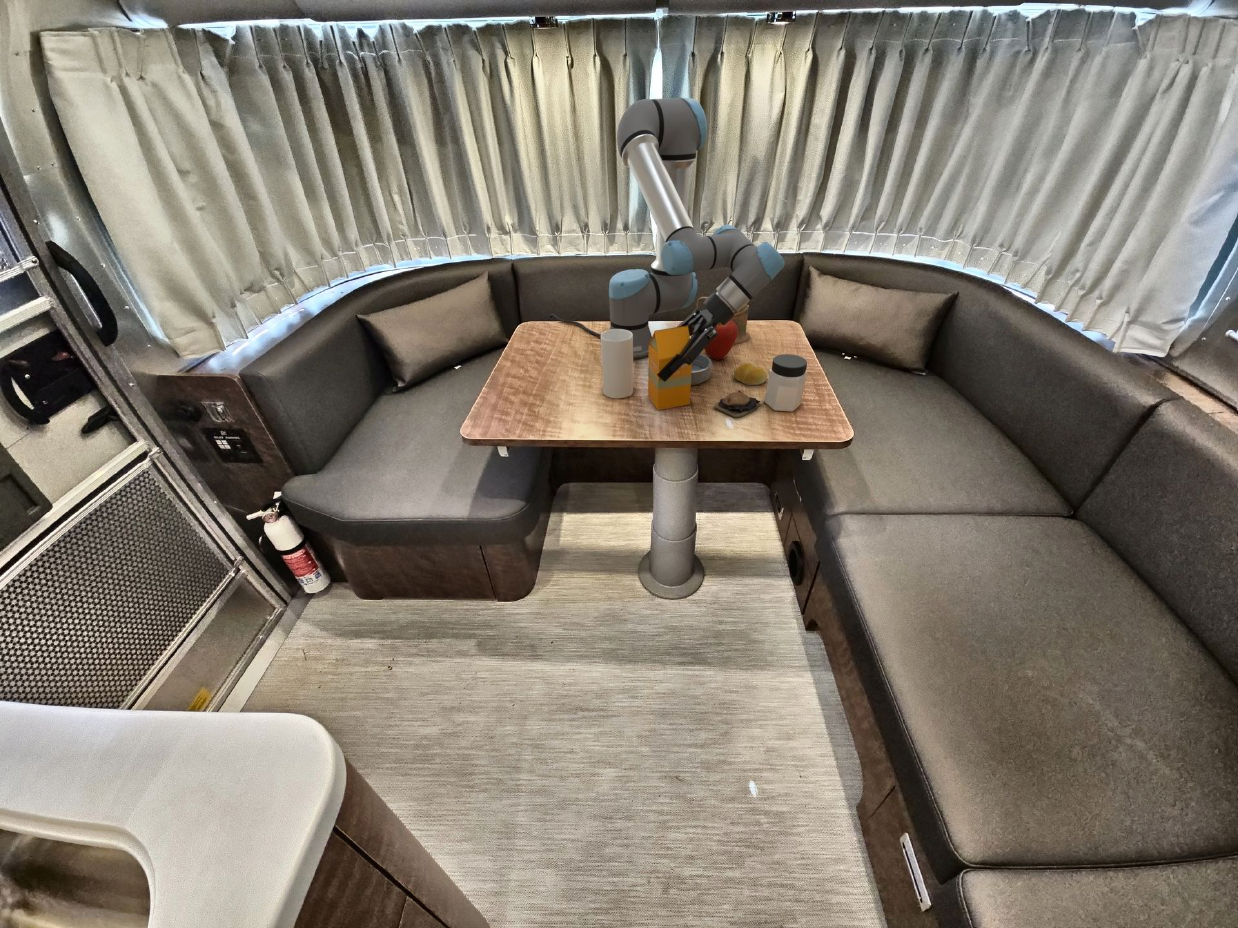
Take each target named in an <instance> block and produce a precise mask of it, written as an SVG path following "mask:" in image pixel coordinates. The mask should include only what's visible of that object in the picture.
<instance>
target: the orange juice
mask: <svg viewBox="0 0 1238 928" xmlns="http://www.w3.org/2000/svg"><path fill="white" fill-rule="evenodd" d="M690 338H691V336H689V330H688V326H682V327H677V326H676V327H669V328H663V329H657V330H654V331H653V334H652V338H651V341H650V344H649V356H647V357H648V361H647V363H648V364H647V397H648V398H649V400H650V402H652V404H653V406H654V407H655V408H656V410H657V411H660V410H665V409H673V408H678V407H683V406H687V405H690V402H691V401H690V398H691V386H692V385H691V372H692V363H691V364H690V365H688V364H683V365H682V366H681V367H680V368H679V369H678V370H677V371H676V372H675V373H674V374H673V375H672V376H671V377H670V378H669V379H668V380H667V381H666V382H664V381H663V380H662V379H661V378H660V377H658V376H657V374H658V373H659V372H660V371H661V370H662V369H663V368H664V367H665V366H666V365H667V364H668V363H669V362H670V361H671V360H672V359H673V358H674V357H675V356H676V354H680V353H681V351H682V350H683V348H684V347H685V345H686V344H687V342H688V341H689V340H690Z"/></svg>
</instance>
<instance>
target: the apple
mask: <svg viewBox="0 0 1238 928" xmlns="http://www.w3.org/2000/svg"><path fill="white" fill-rule="evenodd" d="M715 331H716V332H717V333H718V335H717V336H716V337H715V338H714V339H713V340H712V341H710V343H709V344H708V345H707V346H706V347H705V348H704V351H705V353H706V356H707V357H709V358H710V359H713V360H716V361H720V360H723V359H724V358H725V357H726V356H728V355H729V353H730V351H731V350H732V348H733V347H734V345H735V344H734V342H735V340H736V338H737V333H738V328H737V326H736V325H735V323H734V322H732V321H729V322H728V323H727V324H726V325H722V324H721V323H719V324H718V325H717V326H716V328H715Z"/></svg>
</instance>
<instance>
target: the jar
mask: <svg viewBox="0 0 1238 928" xmlns="http://www.w3.org/2000/svg"><path fill="white" fill-rule="evenodd" d="M807 369H808V361H807V359H806V358H804V357H803V356H800V355H797V354H792V353H791V354H789V353H783V354H778V355H776V356H774V357H773V358H772V363H771V367H770V369H769V372H768V379H767V384H766V391H765V397H764V403H765V404H766V405H767V406H768V407H770V408H771V409H772V410H773V411H777V412H779V411H780V412H794V411H796V409H797V408H798V407H800V406H801V404H802V399H803V396H804V395H803V394H804V390H805V385H806V379H807V376H808V375H807V374H808V371H807Z"/></svg>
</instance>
